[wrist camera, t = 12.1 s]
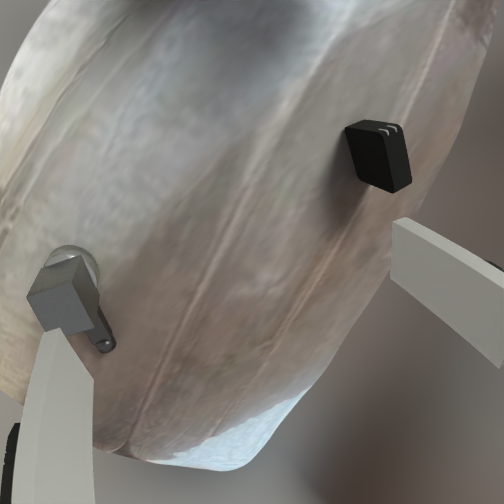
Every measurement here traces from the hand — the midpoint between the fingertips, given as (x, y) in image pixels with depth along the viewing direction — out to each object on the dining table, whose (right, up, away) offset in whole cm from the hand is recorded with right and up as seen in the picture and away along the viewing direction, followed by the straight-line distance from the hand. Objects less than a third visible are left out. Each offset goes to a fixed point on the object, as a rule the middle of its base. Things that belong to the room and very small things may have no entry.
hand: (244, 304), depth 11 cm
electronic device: (+19, +19, +40) cm, 49 cm away
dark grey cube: (-26, -3, +30) cm, 40 cm away
